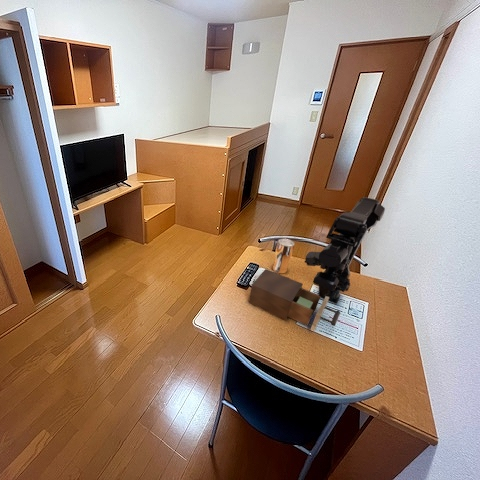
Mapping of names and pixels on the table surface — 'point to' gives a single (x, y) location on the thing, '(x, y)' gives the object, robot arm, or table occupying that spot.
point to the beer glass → (283, 255)
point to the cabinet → (274, 293)
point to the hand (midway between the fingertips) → (324, 289)
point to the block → (305, 302)
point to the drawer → (305, 314)
